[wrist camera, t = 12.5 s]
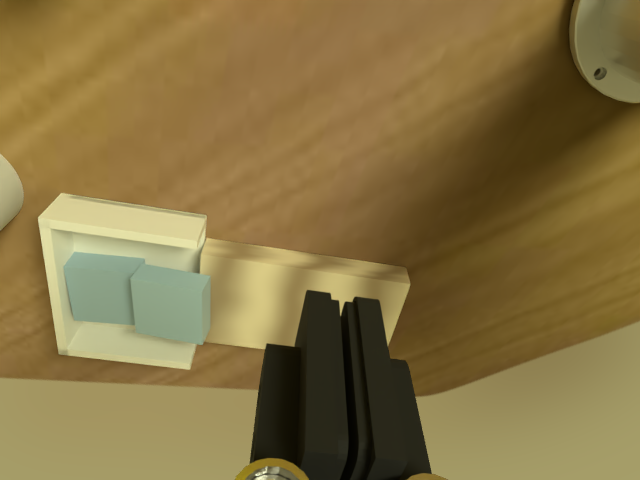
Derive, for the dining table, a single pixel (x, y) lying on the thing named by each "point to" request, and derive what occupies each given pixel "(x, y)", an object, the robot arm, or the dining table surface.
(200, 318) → the tile
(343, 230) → the dining table surface
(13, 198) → the grey cylinder
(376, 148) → the dining table surface
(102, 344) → the tray
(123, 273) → the tile
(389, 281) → the board
